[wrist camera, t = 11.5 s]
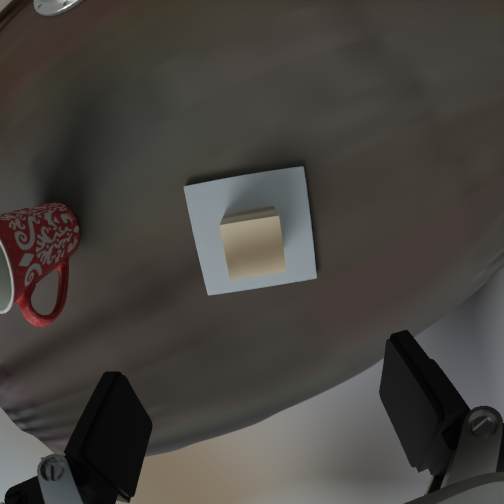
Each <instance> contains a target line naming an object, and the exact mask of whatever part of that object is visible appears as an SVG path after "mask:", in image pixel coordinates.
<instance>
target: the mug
mask: <svg viewBox="0 0 504 504" xmlns="http://www.w3.org/2000/svg"><path fill="white" fill-rule="evenodd" d="M79 239H80V231H79V225H78V222H77V219H76V217H75V215H74V214H73V212H72V211H71V210H70V209H69V208H68V207H67V206H66V205H64V204H62V203H59V202H52V203H47V204H43V205H38V206H34V207H29V208H24V209H21V210H17V211H13V212H9V213H4V214H0V314H3V313H6V312H8V311H9V310H10V309H11V307H12V305H13V303H14V302H16V301H17V303H18V304H19V306H20V309H21V311H22V313H23V315H24V317H25V318H26V319H27V320H28V321H29V322H30V323H31V324H32V325H34V326H37V327H45V326H47V325H49V324H51V323H52V322H53V321H54V320H55V319H56V318H57V317H58V316H59V314H60V313H61V311H62V309H63V307H64V305H65V301H66V297H67V290H68V278H69V258H70V257H71V256H72V255H73V254H74V253H75V251H76V249H77V247H78V245H79ZM54 269H56V270H57V271H58V274H59V282H58V294H57V301H56V305H55V308H54V310H53V312H52V313H51V314H49V315H41V314H39V313H37V312H36V311H35V310H34V309H33V307H32V305H31V295H32V293H33V291H34V289H35V287H36V285H35V284H37V283H38V282H39V281H40V280H41V279H43V278H44V277H45V276H46V275H48V274H49V273H50V272H51V271H52V270H54Z"/></svg>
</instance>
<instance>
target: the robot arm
mask: <svg viewBox="0 0 504 504" xmlns="http://www.w3.org/2000/svg"><path fill="white" fill-rule="evenodd" d="M82 1H83V0H34V8H35V10H36V11H37V12H38V13H40V14H41V15H44V16H54V15H58V14H61V13H63V12H65V11H67V10H69V9H71V8H73V7H74V6H76V5H77V4H79V3H80V2H82ZM379 394H380V398H381V401H382V403H383V405H384V407H385V409H386V411H387V413H388V416H389V418H390V420H391V422H392V424H393V427H394V429H395V431H396V433H397V435H398V438H399V440H400V442H401V445H402V447H403V449H404V451H405V454H406V456H407V458H408V461H409V463H410V465H411V466H412V467H416V468H417V470H418V472H421V471H423V470H426V469H429V471H430V473H431V475H432V477H431V480H430V483H429V485H428V487H427V490H426V492H425V494H424V496H422V497H419V498H417V499H414V500H412V501H410V502H407V503H404V504H504V423H503V419H502V417H501V415H500V413H499V412H498V411H497V410H496V409H494V408H492V407H489V406H479V407H475V408H474V409H472V410H470V408H469V407H468V405H467V404H466V403H465V401H464V400H463V398H462V397H461V395H460V394H459V393H458V391H457V390H456V388H455V387H454V386H453V384H452V383H451V382H450V381H449V379H448V378H447V376H446V375H445V373H444V372H443V371H442V369H441V368H440V367H439V365H438V364H437V363H436V362H435V361H434V360H433V359H430V358H429V357H428V356H427V354H426V353H425V352H424V351H423V349H422V348H421V347H420V345H419V344H418V343H417V341H416V340H415V339H414V338H413V336H412V335H411V334H410V332H409V331H408V330H404V331H400V332H397V333H393V334H391V336H390V339H387V341H386V348H385V356H384V364H383V371H382V377H381V384H380V390H379ZM151 431H152V421H151V419H150V417H149V416H148V414H147V413H146V411H145V409H144V408H143V406H142V404H141V403H140V401H139V399H138V397H137V396H136V394H135V392H134V390H133V389H132V387H131V385H130V383H129V381H128V379H127V378H126V376H124V375H122V373H121V372H105V373H104V374H103V376H102V377H101V379H100V381H99V383H98V385H97V387H96V389H95V390H94V392H93V394H92V396H91V398H90V400H89V402H88V404H87V406H86V408H85V410H84V412H83V414H82V415H81V417H80V419H79V421H78V423H77V426H76V428H75V430H74V432H73V434H72V436H71V438H70V440H69V442H68V444H67V446H66V448H65V451H64V453H65V454H66V455H65V458H64V457H63V456H61V455H59V454H51V455H48V456H46V457H45V458H43V459H42V460H41V462H40V463H39V465H38V469H37V474H38V476H36V477H33V478H31V479H29V480H27V481H24V482H22V483H20V484H17V485H15V486H13V487H11V488H9V490H8V491H7V492H6V494H5V499H4V500H5V504H115V503H116V500H117V501H122V502H127V503H130V499H131V497H133V496H134V495H135V491H136V487H137V483H138V479H139V476H140V472H141V468H142V464H143V460H144V456H145V453H146V449H147V445H148V442H149V438H150V434H151ZM0 504H4V503H3V502H1V503H0Z"/></svg>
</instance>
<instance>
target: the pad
mask: <svg viewBox="0 0 504 504" xmlns="http://www.w3.org/2000/svg"><path fill="white" fill-rule="evenodd" d="M184 192H185V197H186V201H187V206H188V211H189V216H190V220H191V225H192V229H193V234H194V238H195V243H196V247H197V252H198V256H199V260H200V264H201V269H202V273H203V277H204V281H205V285H206V289H207V293H208V295H215V294H222V293H229V292H236V291H242V290H249V289H255V288H262V287H268V286H274V285H280V284H286V283H292V282H298V281H304V280H310V279H316V278H317V277H316V266H315V255H314V245H313V236H312V227H311V219H310V210H309V202H308V195H307V187H306V180H305V173H304V166H300V167H292V168H285V169H278V170H271V171H265V172H259V173H252V174H246V175H240V176H235V177H229V178H224V179H218V180H213V181H208V182H203V183H198V184H193V185H188V186H184ZM270 206H274V207H275V209H276V211H277V213H278V215H279V219H280V227H281V234H282V241H283V249H284V257H285V264H286V272H279V273H273V274H266V275H260V276H253V277H246V278H240V279H233V280H230V277H229V272H228V267H227V262H226V257H225V252H224V247H223V242H222V237H221V231H220V226H219V225H220V222H221V220H222V218H223V215H224V214H226V213H232V212H238V211H244V210H251V209H257V208H263V207H270Z"/></svg>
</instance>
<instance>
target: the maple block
mask: <svg viewBox="0 0 504 504" xmlns="http://www.w3.org/2000/svg"><path fill="white" fill-rule="evenodd" d="M219 226H220V231H221V237H222V242H223V247H224V252H225V257H226V262H227V267H228V272H229V277H230V280H233V279H240V278H246V277H253V276H260V275H266V274H273V273H279V272H286V264H285V257H284V249H283V241H282V234H281V227H280V219H279V215H278V213H277V211H276V209H275V207H274V206H270V207H263V208H257V209H251V210H244V211H238V212H232V213H226V214H224V215H223V218H222V220H221V222H220V225H219Z"/></svg>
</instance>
